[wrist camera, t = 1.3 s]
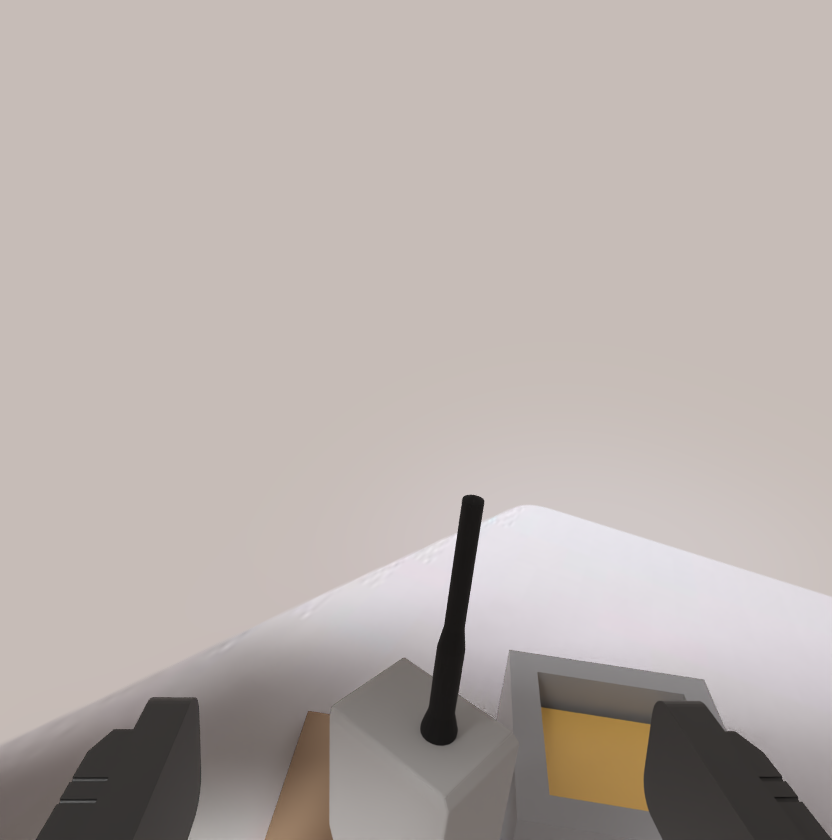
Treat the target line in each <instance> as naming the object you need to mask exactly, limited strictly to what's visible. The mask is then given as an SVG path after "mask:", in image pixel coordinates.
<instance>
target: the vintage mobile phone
mask: <svg viewBox="0 0 832 840" xmlns="http://www.w3.org/2000/svg"><path fill="white" fill-rule="evenodd" d="M483 507H484V500H483V498H481V497H479V496H476V495H466V496H464V497H463V499H462V506H461V514H460V520H459V526H458V533H457V540H456V547H455V554H454V561H453V568H452V575H451V582H450V589H449V596H448V603H447V610H446V617H445V624H444V627H443V630H442V633H441V636H440V639H439V642H438V645H437V651H436V659H435V666H434V673H433V677H432V676H431V675H429V674H428V673H426V672H425V671H423V670H422V669H420V668H419V667H417V666H416V665H414V664H413V663H412V662H410V661H409V660H407V659H406V658H402V659H401V660H399V661H398V662H396V663H395V664H394V665H392V666H391V667H389V668H388V669H386V670H385V671H383V672H382V673H380V674H379V675H377V676H376V677H374V678H373V679H371V680H370V681H368V682H367V683H365V684H364V685H362V686H361V687H359V688H358V689H356V690H355V691H353V692H352V693H350V694H349V695H348V696H346V697H345V698H343V699H342V700H340V701H339V702H337V703H336V704H334V705H333V706H332V707H331V712H330V791H329V825H330V829H331V833H332V837H333V840H500V835H501V830H502V825H503V820H504V815H505V810H506V806H507V801H508V796H509V791H510V786H511V781H512V776H513V771H514V766H515V761H516V757H517V752H518V747H519V742H518V740H517V739H516V737H515V735H514V734H513V732H512V731H511V730H509V729H508V728H506V727H505V726H504V725H502V724H501V723H499V722H498V721H496V720H495V719H493V718H492V717H490V716H489V715H487V714H486V713H485V712H483V711H482V710H480V709H479V708H477V707H476V706H474V705H473V704H471V703H470V702H469V701H467V700H466V699H464V698H463V697H461V696H460V695H458V691H459V685H460V679H461V673H462V666H463V660H464V654H465V622H466V615H467V609H468V603H469V596H470V590H471V584H472V577H473V571H474V564H475V558H476V552H477V545H478V539H479V533H480V526H481V520H482V513H483Z"/></svg>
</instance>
